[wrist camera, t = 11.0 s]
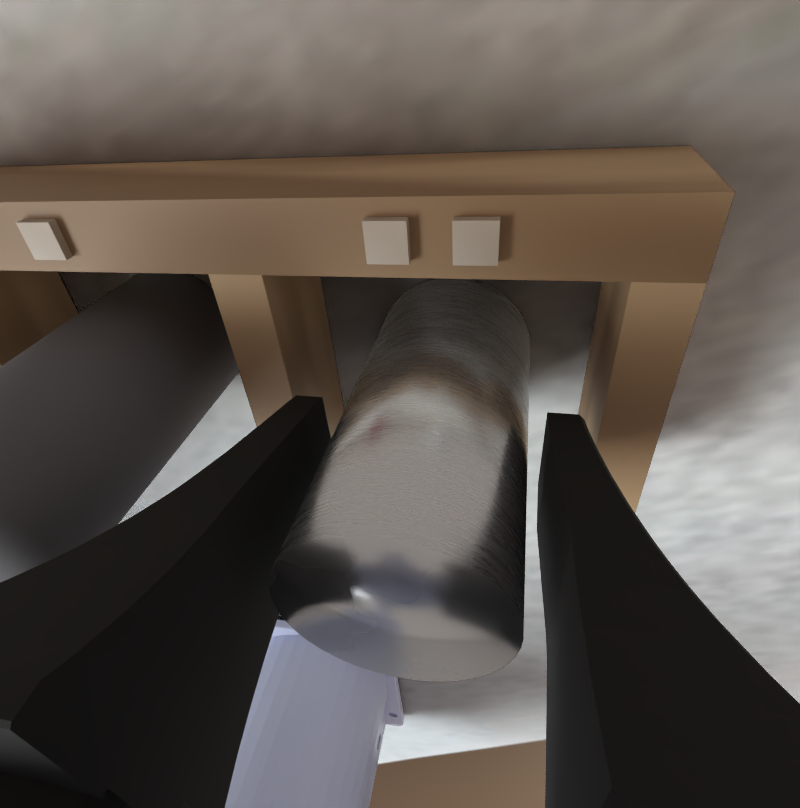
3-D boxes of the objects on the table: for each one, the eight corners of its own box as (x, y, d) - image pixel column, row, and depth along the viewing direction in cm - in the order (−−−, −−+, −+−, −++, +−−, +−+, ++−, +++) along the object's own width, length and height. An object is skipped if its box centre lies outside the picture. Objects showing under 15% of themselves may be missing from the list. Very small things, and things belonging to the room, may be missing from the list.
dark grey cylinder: (261, 387, 16) (98, 619, 10) (151, 383, 17) (-62, 595, 11) (223, 266, 14) (-20, 472, 8) (98, 269, 15) (-210, 457, 9)
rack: (616, 445, 15) (631, 534, 13) (96, 404, 19) (31, 467, 16) (690, 145, 10) (739, 195, 8) (-34, 167, 14) (-156, 206, 11)
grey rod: (534, 400, 15) (531, 693, 9) (399, 405, 16) (312, 668, 10) (524, 268, 12) (512, 541, 6) (367, 285, 14) (228, 531, 7)
